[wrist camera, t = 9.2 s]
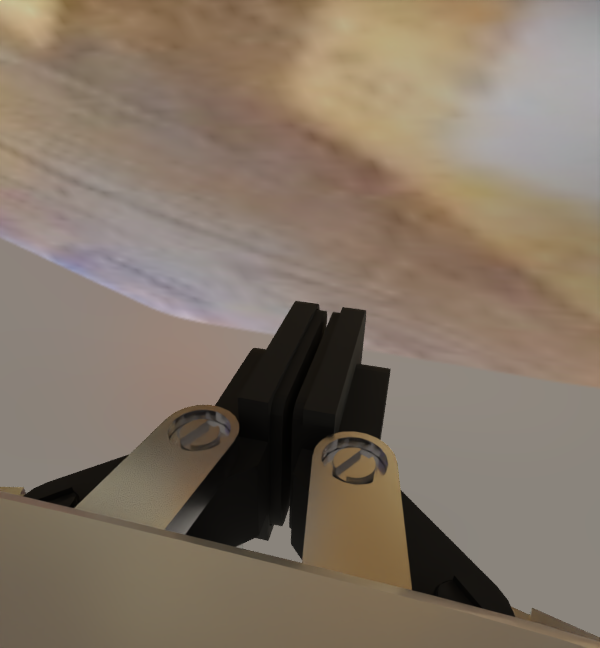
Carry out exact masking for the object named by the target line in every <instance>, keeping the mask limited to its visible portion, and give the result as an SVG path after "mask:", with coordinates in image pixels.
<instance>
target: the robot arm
mask: <svg viewBox="0 0 600 648" xmlns="http://www.w3.org/2000/svg"><path fill="white" fill-rule="evenodd" d="M365 322H366V310H359V309H352V308H344V307H343V308H342V310H341V313H336V312H333V313H332V315H331V318H330V320H329V323H328V325H327V327H326V324H327V311H321V310H320V309H319V304H314V303H307V302H299V301H295V302H294V304H293V306H292V307H291V309H290V311H289V312H288V314H287V316H286V318H285V319H284V321H283V323H282V324H281V326H280V328H279V329H278V331H277V333H276V334H275V336H274V338H273V339H272V341H271V343H270V344H269V346H268V348H267V349H266V350H265V349H259V348H253V349H252V350H251V351H250V353H249V354H248V356H247V357H246V359H245V360H244V362H243V363H242V365H241V366H240V368H239V369H238V371H237V373H236V374H235V376H234V377H233V379H232V380H231V382H230V383H229V385H228V386H227V388H226V390H225V391H224V393H223V394H222V396H221V397H220V399H219V400H218V402H217V403H216V405H215V406H212V405H196V406H192V407H187V408H184V409H182V410H179V411H177V412H175V413H174V414H172V415H171V416H169V417H168V418H167V419H166V420H165V421H164V422H163V423H161V424H160V425H159V426H158V427H157V428H156V429H155V430H154V431H153V432H152V433H151V434H150V435H149V436H148V437H147V438H146V439H145V440H144V441H143V442H142V443H141V444H140V445H139V446H138V447H137V448H136V449H135V450H134V451H133V452H132V453H131V454H129V455H126V456H123V457H120V458H117V459H115V460H111V461H109V462H106V463H103V464H100V465H97V466H94V467H91V468H88V469H85V470H82V471H79V472H77V473H73V474H71V475H68V476H65V477H62V478H59V479H56V480H53V481H50V482H47V483H45V484H43V485H40V486H39V487H36V488H34V489H33V490H31V491H30V492H28V493H27V494H26V492H25V489H24V487H0V648H600V637H597V636H595V635H593V634H590V633H588V632H586V631H584V630H581V629H579V628H577V627H575V626H572V625H570V624H568V623H565V622H563V621H561V620H559V619H556V618H554V617H552V616H550V615H547V614H545V613H543V612H541V611H538V610H536V609H534V608H532V609H531V612H530V614H526V613H524V612H522V611H520V610H518V609H515V608H513V607H511V606H510V604H509V601H508V600H507V598H506V597H505V596H504V595H503V593H502V592H501V591H500V590H499V588H498V587H497V586H496V585H495V584H494V583H493V582H492V581H491V580H490V579H489V578H488V577H487V576H486V575H485V574H484V573H483V572H482V571H481V570H480V569H479V568H478V567H477V566H476V565H475V564H474V563H473V562H472V561H471V560H470V559H469V558H468V557H467V556H466V555H465V554H464V553H463V552H462V551H461V550H460V549H459V548H458V547H457V546H456V545H455V544H454V543H453V542H452V541H451V540H450V539H449V538H448V537H447V536H446V535H445V534H444V533H443V532H442V531H441V530H440V529H439V528H438V527H437V526H436V525H435V524H434V523H433V522H432V521H431V520H430V519H429V518H428V517H427V516H426V515H425V514H424V513H423V512H422V511H421V510H420V509H419V508H418V507H417V506H416V505H415V504H414V503H413V502H412V501H411V500H410V499H409V498H408V497H407V496H406V495H405V494H404V493H403V492H402V491H401V490H400V481H399V474H398V464H397V461H396V458H395V454H394V453H393V452H392V450H391V449H390V448H389V447H388V445H386V444H385V443H384V442H382V441H381V432H382V426H383V419H384V412H385V405H386V398H387V390H388V384H389V377H390V369H388V368H382V367H375V366H369V365H362V364H361V359H362V350H363V341H364V331H365ZM289 506H290V519H289V521H290V522H289V527H290V528H291V544H292V546H293V547H294V549H295V550H296V552H297V553H298V555H299V556H300V558H301V559H302V563H299V562H295V561H291V560H287V559H283V558H279V557H274V556H271V555H266V554H262V553H258V552H254V551H250V550H246V549H243V543H245V542H247V541H249V540H251V539H253V538H258V539H263V540H267V541H268V540H269V537H270V534H271V531H272V529H273V526H274V525H279V526H282V525H283V523H284V521H285V518H286V515H287V512H288V509H289Z"/></svg>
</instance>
